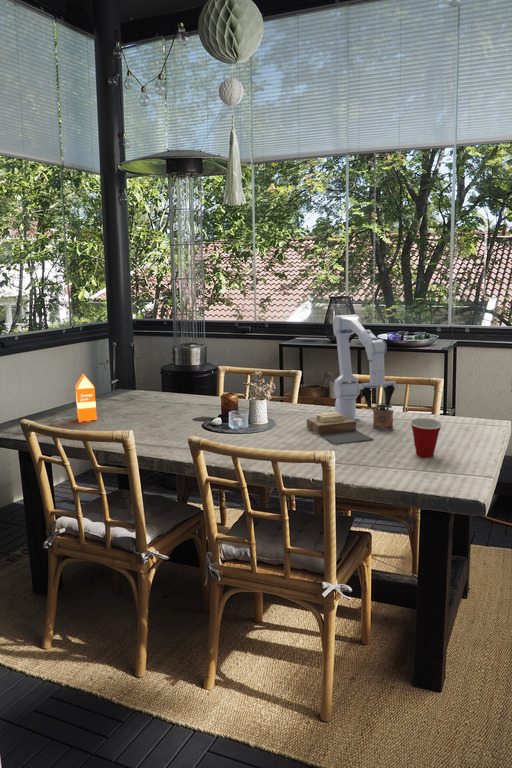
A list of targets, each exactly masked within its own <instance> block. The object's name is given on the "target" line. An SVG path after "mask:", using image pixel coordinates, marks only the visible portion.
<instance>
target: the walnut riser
mask: <svg viewBox="0 0 512 768" xmlns="http://www.w3.org/2000/svg"><path fill="white" fill-rule="evenodd" d="M307 428H308V429H307ZM306 429H307V430H309V429H310V430H311V431H310V430H309V431H310V432H312V431H313V432H312V433H314V432H315V433H316V435H317V434H318V435H317V436H319V434H327V433H336V432H344V431H353V430H357V421H356V420H352V419H350V418H348V417H346V416H344V420H340V421H331V422H321V421H319V420H318V419H317V417H312V418H307V419H306ZM315 433H314V434H315Z"/></svg>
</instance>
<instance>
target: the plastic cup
mask: <svg viewBox="0 0 512 768" xmlns="http://www.w3.org/2000/svg"><path fill="white" fill-rule="evenodd" d="M409 422H410V426H411V429H412V434H413V435H412V436H413V445H414V447H415V449H414V450H415V454H416V456H417V457H420V458H426V459H428V458H432V457H434V456H435V450H436V447H437V442H438V438H439V433H440V430H441V428H442V427H443V422H441V421H440V420H437V419H435V418H434V419H432V418H423V417H419V418H413V419H411V420H409Z"/></svg>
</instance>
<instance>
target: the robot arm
mask: <svg viewBox="0 0 512 768" xmlns="http://www.w3.org/2000/svg"><path fill="white" fill-rule="evenodd" d="M332 329H333V336H335V337H336V347H337V356H338V358H337V359H338V366H339V376H337V378H336V379H335V380H334V387H333V394H334V396H335V397H336V399H335V402H334V412H338V413H340V414H342V415H344V416H346V417H348V418H350V419H352V420H354V421H356V420H360V418H359V417H357V416H356V402H357V401H356V399H358V396H360V394H361V393H362V395H363V396H364V398H365V402H366V404H367V405H366V407H367V408H372V391H373V390H372V389H379V388H383V390H384V399H385V401H384V402H385V404H384V405H387V406H390V404H391V400H392V397H393V394H394V391H395V389H396V386H397V381H395V380H391V381H389V380H388V381H386V377H385V375H386V374H385V373H386V372H385V370H386V369H385V354H386V353H387V349H388V347H387V343H386V341H385V340H384V339H380V338H377V336H376V335H375V334H374V333H373V332H372V331H371V329H365V327H364V325H362V324H361V319H360V317H359V316H358V314H356V313H355V314H344V315H341V314H340V315H338V314H337V315H335V316H334V318H333V321H332ZM353 334H356V335H357V336H358V341H359V342H360V343H361V345H363V346H364V348H365V352H366V356H367V360H368V365H369V382H365V383H359V379H358V377H356V376H355V375H354V374H353V369H352V360H351V358H352V357H351V350H350V349H351V348H350V337H351V335H353Z"/></svg>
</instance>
